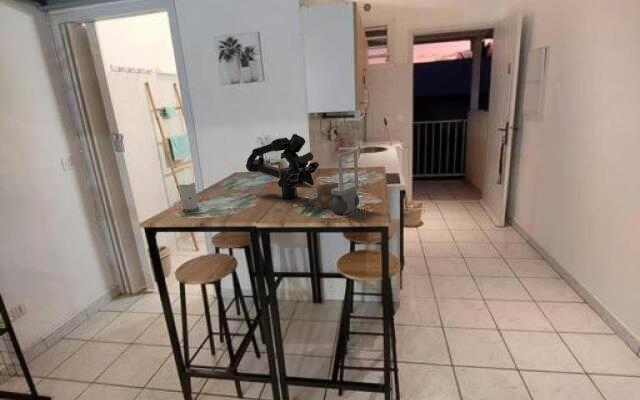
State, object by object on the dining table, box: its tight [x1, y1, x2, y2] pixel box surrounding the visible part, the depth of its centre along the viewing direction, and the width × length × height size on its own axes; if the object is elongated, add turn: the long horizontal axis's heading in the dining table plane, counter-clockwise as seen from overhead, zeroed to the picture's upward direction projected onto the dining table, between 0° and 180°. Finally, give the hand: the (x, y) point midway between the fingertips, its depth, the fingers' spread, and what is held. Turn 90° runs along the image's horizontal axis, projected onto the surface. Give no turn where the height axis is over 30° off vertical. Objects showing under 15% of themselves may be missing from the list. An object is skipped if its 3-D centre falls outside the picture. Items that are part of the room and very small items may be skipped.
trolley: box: [330, 149, 360, 216], centre depth 140 cm, size 7×12×25 cm, turn 140°
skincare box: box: [178, 181, 199, 210], centre depth 162 cm, size 6×4×12 cm
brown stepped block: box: [309, 181, 339, 210], centre depth 152 cm, size 16×10×9 cm, turn 50°
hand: (313, 184), depth 157 cm, fingers closed
